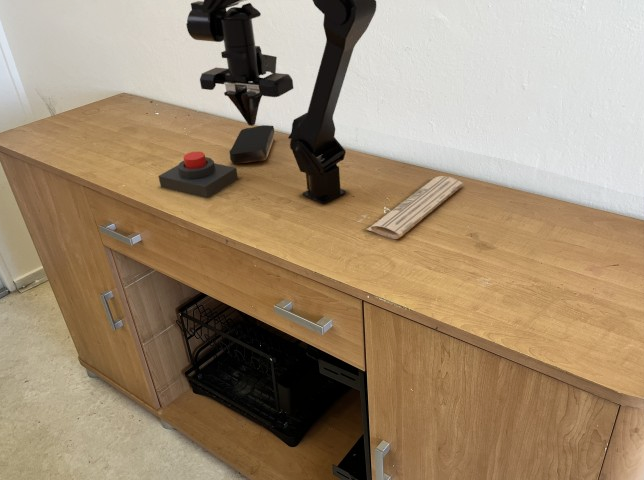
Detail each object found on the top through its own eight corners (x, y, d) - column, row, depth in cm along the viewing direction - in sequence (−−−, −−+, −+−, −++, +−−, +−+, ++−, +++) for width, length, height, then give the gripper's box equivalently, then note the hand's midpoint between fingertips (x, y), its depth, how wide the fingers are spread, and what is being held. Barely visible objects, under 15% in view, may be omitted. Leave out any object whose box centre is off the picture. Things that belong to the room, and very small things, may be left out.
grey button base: (238, 179, 132) (235, 159, 129) (208, 198, 125) (203, 178, 122) (192, 169, 138) (188, 150, 135) (161, 187, 131) (156, 167, 128)
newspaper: (399, 240, 107) (399, 231, 106) (366, 230, 111) (365, 221, 110) (462, 188, 122) (463, 180, 121) (430, 180, 125) (431, 172, 124)
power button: (210, 162, 129) (209, 153, 128) (197, 171, 126) (195, 161, 125) (195, 159, 131) (193, 150, 130) (181, 167, 128) (178, 157, 127)
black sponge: (266, 165, 137) (264, 150, 134) (229, 167, 137) (226, 151, 135) (276, 138, 150) (275, 123, 148) (242, 139, 150) (240, 125, 148)
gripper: (304, 35, 117) (312, 117, 126) (227, 31, 125) (239, 107, 134) (271, 50, 109) (281, 136, 118) (190, 44, 117) (206, 124, 126)
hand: (252, 125), depth 124 cm, fingers closed
